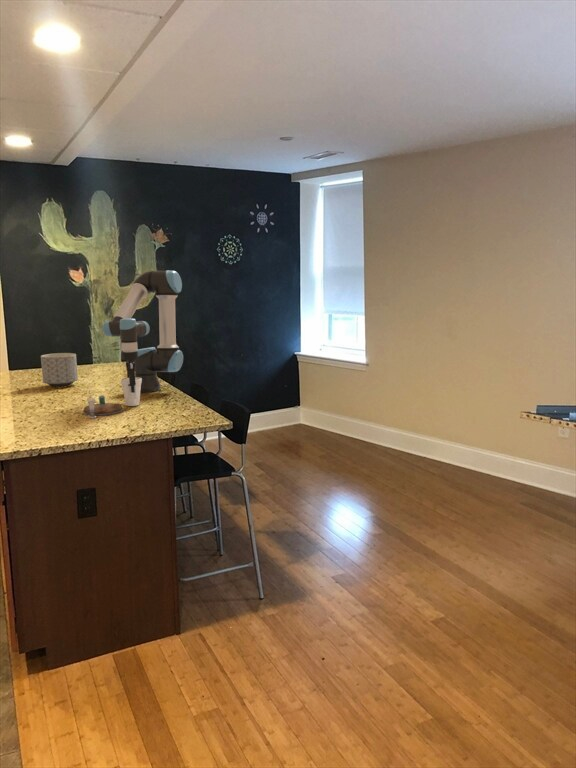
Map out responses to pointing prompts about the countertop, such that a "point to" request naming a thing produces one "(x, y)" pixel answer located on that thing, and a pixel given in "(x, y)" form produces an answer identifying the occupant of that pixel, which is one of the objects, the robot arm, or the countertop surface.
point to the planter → (59, 369)
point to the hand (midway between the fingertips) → (132, 397)
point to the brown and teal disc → (104, 407)
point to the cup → (127, 391)
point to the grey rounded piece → (92, 407)
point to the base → (104, 413)
